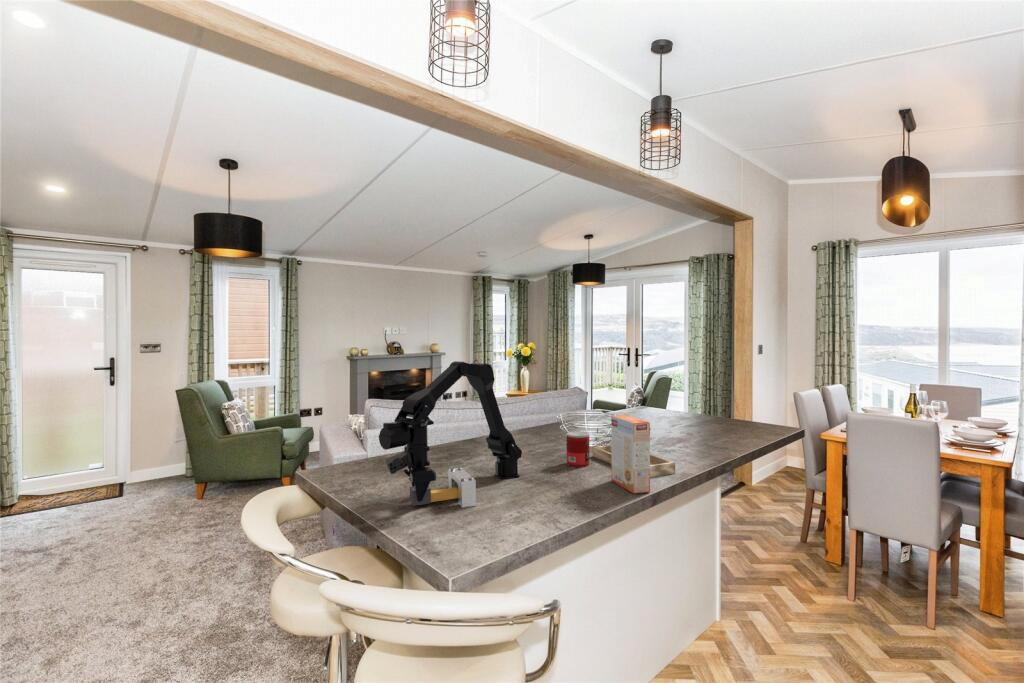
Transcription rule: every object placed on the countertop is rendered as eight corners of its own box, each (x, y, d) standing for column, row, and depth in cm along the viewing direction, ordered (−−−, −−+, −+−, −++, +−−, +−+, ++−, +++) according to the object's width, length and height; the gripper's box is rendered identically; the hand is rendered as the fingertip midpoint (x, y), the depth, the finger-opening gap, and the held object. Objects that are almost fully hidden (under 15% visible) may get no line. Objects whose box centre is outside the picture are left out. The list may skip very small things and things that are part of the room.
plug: (461, 493, 141) (461, 479, 141) (465, 497, 137) (465, 483, 137) (410, 501, 135) (409, 486, 135) (412, 505, 131) (412, 491, 131)
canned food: (591, 467, 169) (590, 435, 169) (568, 467, 169) (567, 436, 169) (587, 461, 176) (587, 431, 176) (565, 461, 177) (565, 431, 176)
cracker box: (651, 492, 142) (651, 421, 141) (632, 494, 140) (632, 422, 140) (628, 478, 155) (627, 413, 155) (610, 480, 154) (610, 414, 153)
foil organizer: (621, 452, 188) (621, 443, 188) (675, 473, 160) (675, 462, 160) (593, 456, 183) (592, 447, 183) (643, 478, 155) (642, 467, 155)
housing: (461, 490, 146) (461, 466, 146) (476, 505, 133) (475, 479, 133) (448, 492, 144) (448, 468, 144) (462, 508, 132) (461, 481, 131)
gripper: (382, 438, 139) (383, 492, 140) (392, 453, 122) (393, 515, 122) (421, 435, 143) (422, 487, 144) (436, 448, 126) (437, 508, 127)
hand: (418, 498), depth 134 cm, fingers closed on plug, 4 cm apart
